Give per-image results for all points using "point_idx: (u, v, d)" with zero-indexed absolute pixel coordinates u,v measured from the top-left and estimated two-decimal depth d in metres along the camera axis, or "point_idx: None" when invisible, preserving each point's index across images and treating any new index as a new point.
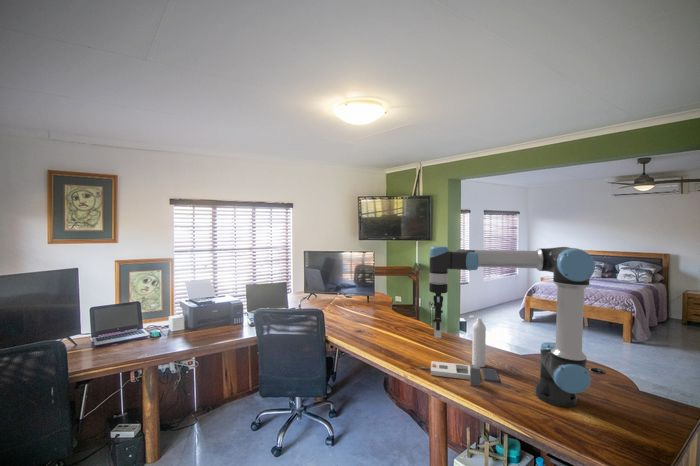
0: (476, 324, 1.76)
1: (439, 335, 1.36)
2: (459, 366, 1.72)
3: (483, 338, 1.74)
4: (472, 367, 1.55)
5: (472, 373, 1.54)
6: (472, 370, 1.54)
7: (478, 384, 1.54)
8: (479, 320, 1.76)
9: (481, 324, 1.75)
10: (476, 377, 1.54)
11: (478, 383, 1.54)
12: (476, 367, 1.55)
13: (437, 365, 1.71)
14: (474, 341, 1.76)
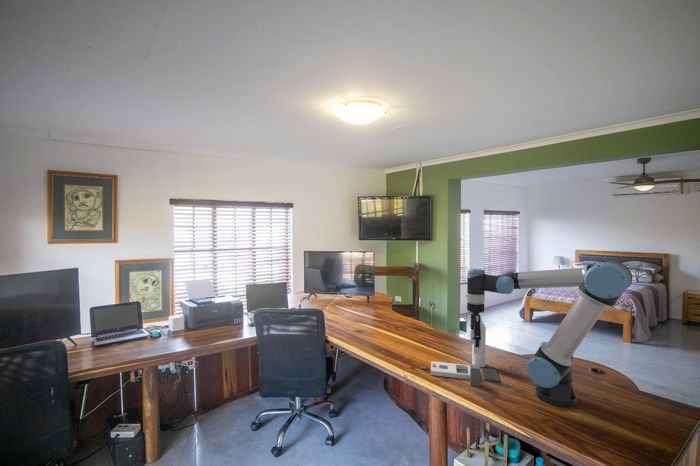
0: None
1: (478, 351, 1.48)
2: (459, 366, 1.72)
3: (483, 338, 1.74)
4: (472, 367, 1.55)
5: (472, 373, 1.54)
6: (472, 370, 1.54)
7: (478, 384, 1.54)
8: None
9: (481, 324, 1.75)
10: (476, 377, 1.54)
11: (478, 383, 1.54)
12: (476, 367, 1.55)
13: (437, 365, 1.71)
14: None
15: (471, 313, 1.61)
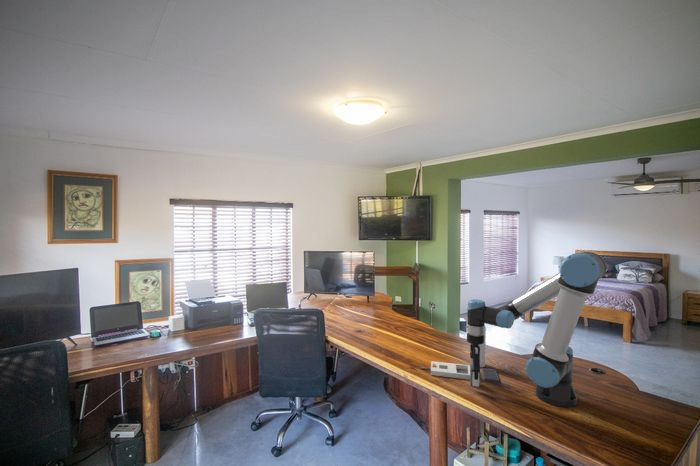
0: None
1: (477, 384, 1.49)
2: (459, 366, 1.72)
3: None
4: (472, 367, 1.55)
5: (472, 373, 1.54)
6: None
7: None
8: None
9: None
10: None
11: None
12: None
13: (437, 365, 1.71)
14: None
15: (471, 343, 1.61)
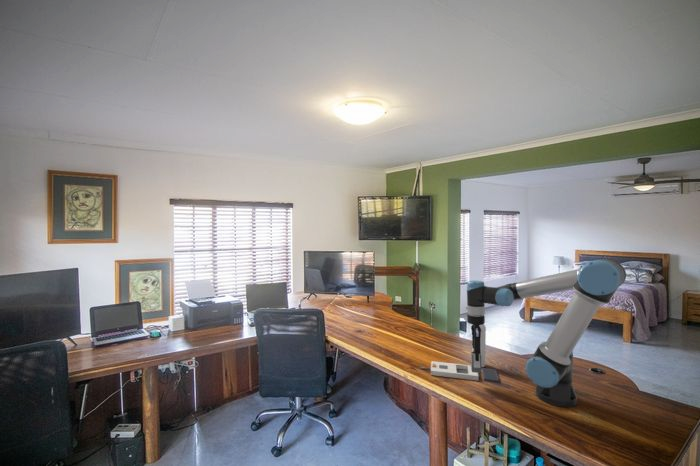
0: None
1: (478, 365, 1.53)
2: (459, 366, 1.72)
3: (483, 338, 1.74)
4: (473, 354, 1.55)
5: (473, 359, 1.54)
6: (473, 357, 1.54)
7: (479, 370, 1.53)
8: None
9: None
10: None
11: (479, 369, 1.53)
12: None
13: (437, 365, 1.71)
14: None
15: None
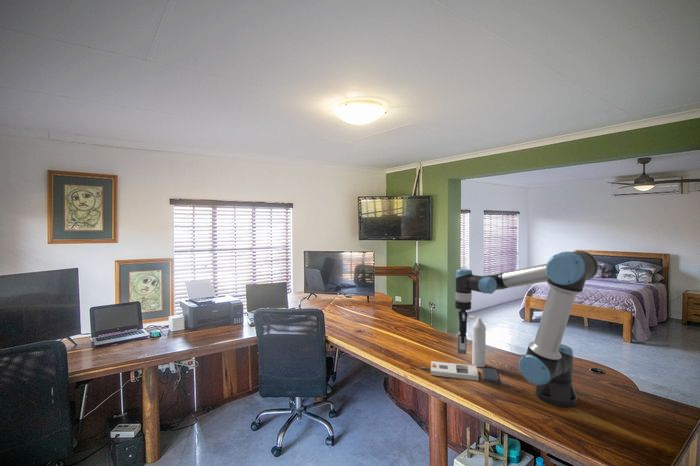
0: (476, 324, 1.76)
1: (463, 347, 1.64)
2: (459, 366, 1.72)
3: (483, 338, 1.74)
4: (459, 336, 1.66)
5: (459, 342, 1.65)
6: (459, 339, 1.65)
7: (464, 352, 1.65)
8: (479, 320, 1.76)
9: (481, 324, 1.75)
10: None
11: (464, 351, 1.65)
12: None
13: (437, 365, 1.71)
14: (474, 341, 1.76)
15: None
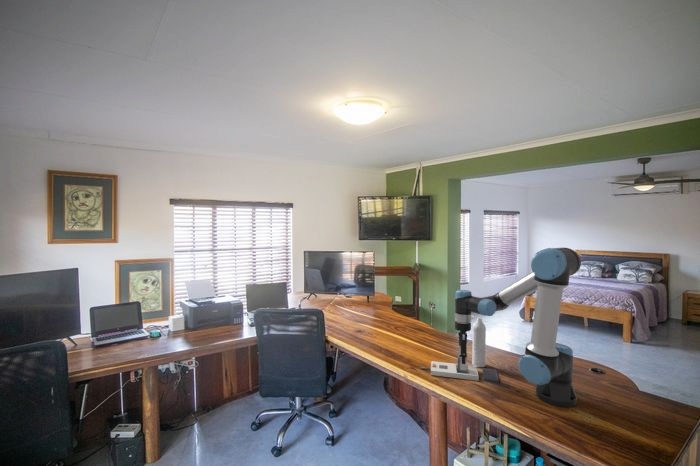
0: (476, 324, 1.76)
1: (464, 368, 1.60)
2: None
3: (483, 338, 1.74)
4: (459, 357, 1.66)
5: (459, 363, 1.65)
6: (459, 360, 1.65)
7: (464, 373, 1.65)
8: (479, 320, 1.76)
9: (481, 324, 1.75)
10: None
11: (464, 372, 1.65)
12: None
13: (437, 365, 1.71)
14: (474, 341, 1.76)
15: (459, 331, 1.72)
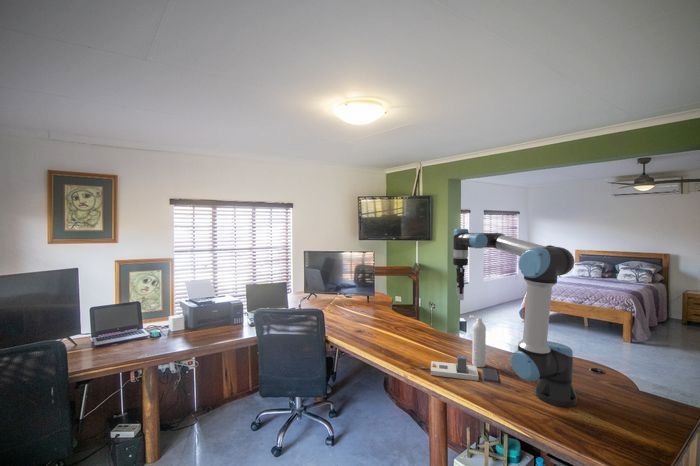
0: (476, 324, 1.76)
1: (462, 298, 1.73)
2: None
3: (483, 338, 1.74)
4: (459, 357, 1.66)
5: (459, 363, 1.65)
6: (459, 360, 1.65)
7: (464, 373, 1.65)
8: (479, 320, 1.76)
9: (481, 324, 1.75)
10: (463, 367, 1.65)
11: (464, 372, 1.65)
12: (463, 357, 1.66)
13: (437, 365, 1.71)
14: (474, 341, 1.76)
15: (457, 268, 1.86)
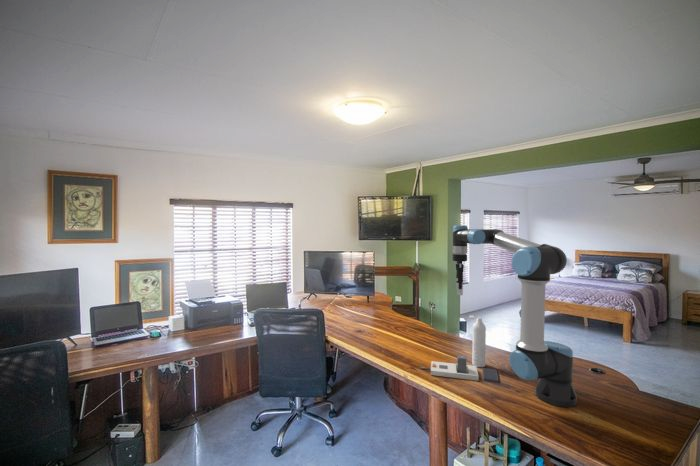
0: (476, 324, 1.76)
1: (461, 293, 1.77)
2: None
3: (483, 338, 1.74)
4: (459, 357, 1.66)
5: (459, 363, 1.65)
6: (459, 360, 1.65)
7: (464, 373, 1.65)
8: (479, 320, 1.76)
9: (481, 324, 1.75)
10: (463, 367, 1.65)
11: (464, 372, 1.65)
12: (463, 357, 1.66)
13: (437, 365, 1.71)
14: (474, 341, 1.76)
15: None
